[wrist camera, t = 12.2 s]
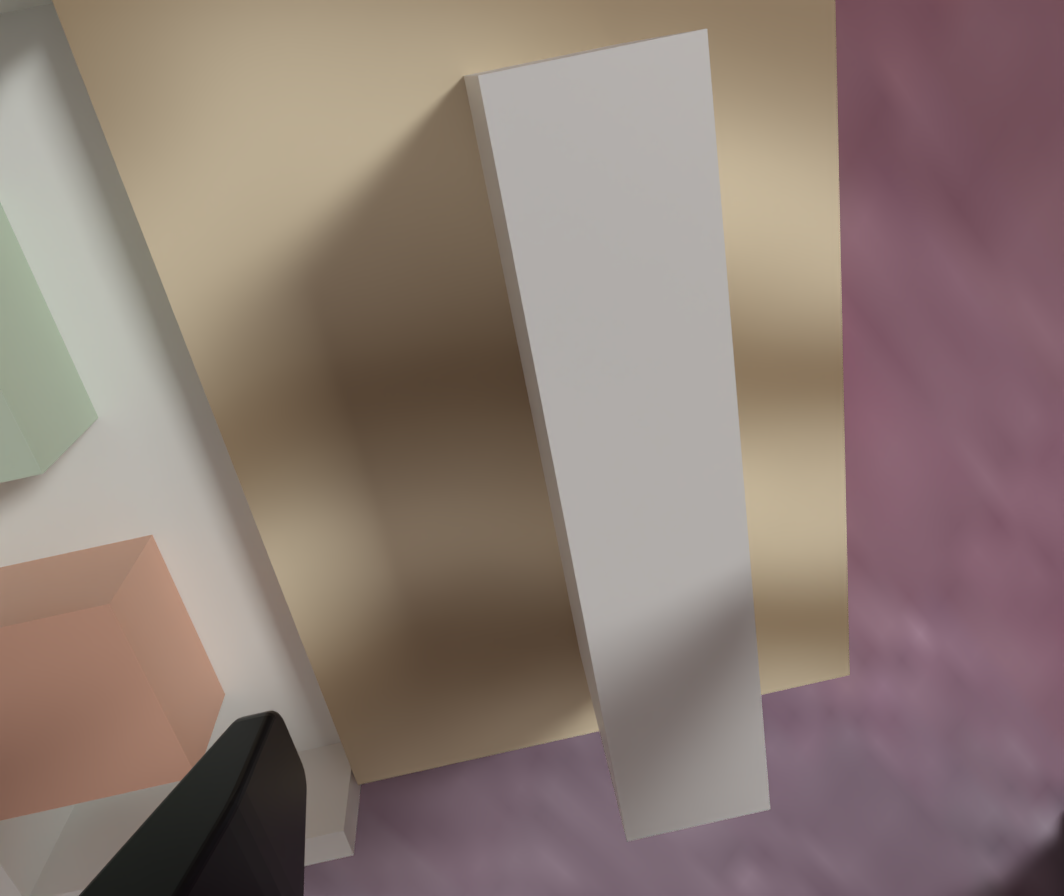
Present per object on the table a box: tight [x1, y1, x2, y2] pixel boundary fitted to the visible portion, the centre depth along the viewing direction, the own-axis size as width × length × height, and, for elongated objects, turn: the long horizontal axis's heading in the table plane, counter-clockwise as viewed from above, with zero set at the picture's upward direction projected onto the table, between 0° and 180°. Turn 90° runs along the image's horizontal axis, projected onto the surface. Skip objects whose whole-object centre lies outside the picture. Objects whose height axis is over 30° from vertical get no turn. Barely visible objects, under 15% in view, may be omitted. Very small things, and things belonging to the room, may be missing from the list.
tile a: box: [0, 535, 225, 821], centre depth 17 cm, size 4×4×2 cm
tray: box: [0, 0, 361, 896], centre depth 15 cm, size 18×8×3 cm, turn 10°
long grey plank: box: [464, 29, 770, 842], centre depth 13 cm, size 12×2×5 cm, turn 10°
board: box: [52, 0, 850, 785], centre depth 16 cm, size 17×12×2 cm
